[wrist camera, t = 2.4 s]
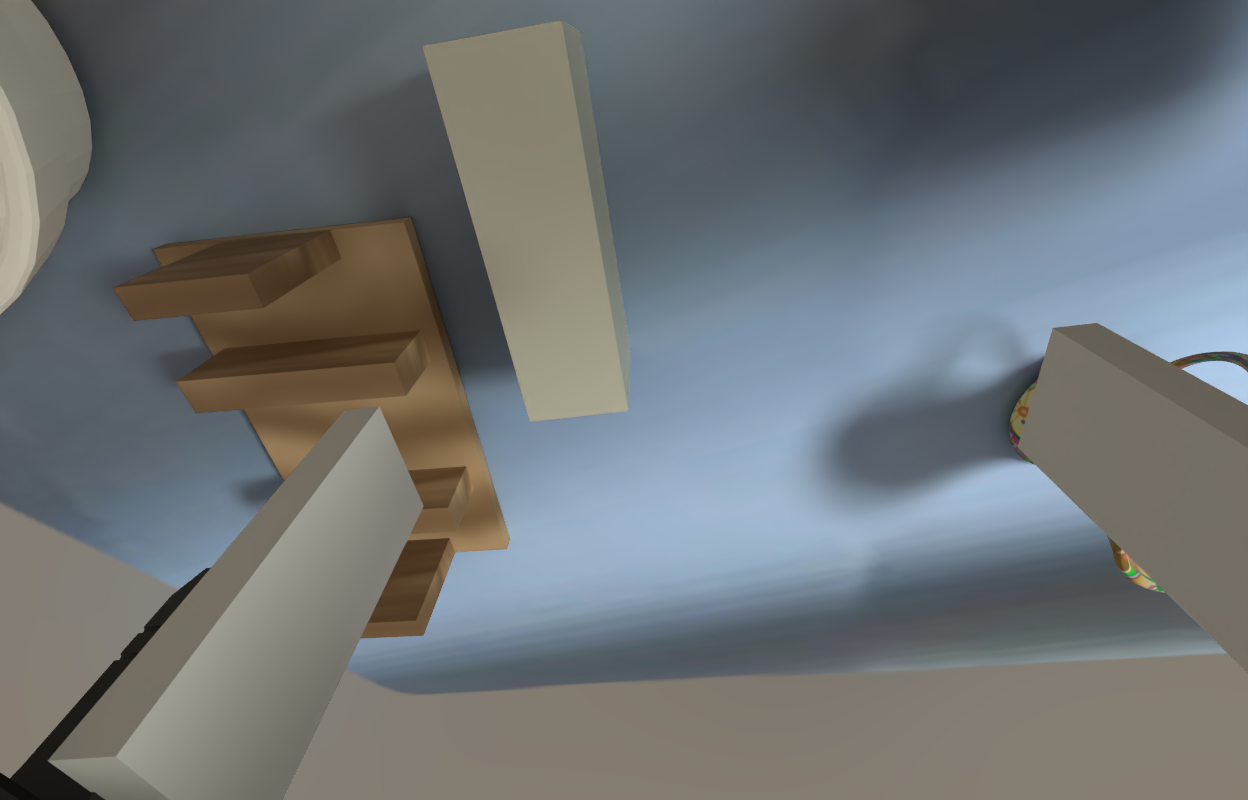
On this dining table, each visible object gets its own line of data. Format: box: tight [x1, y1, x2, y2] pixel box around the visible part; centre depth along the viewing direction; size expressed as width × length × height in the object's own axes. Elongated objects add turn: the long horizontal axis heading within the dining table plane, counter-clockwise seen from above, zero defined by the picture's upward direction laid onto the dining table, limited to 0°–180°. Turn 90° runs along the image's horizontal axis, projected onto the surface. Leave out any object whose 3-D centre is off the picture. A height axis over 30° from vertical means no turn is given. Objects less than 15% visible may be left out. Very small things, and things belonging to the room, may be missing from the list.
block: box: [422, 20, 630, 422], centre depth 26 cm, size 16×5×7 cm, turn 8°
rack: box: [113, 217, 510, 638], centre depth 32 cm, size 24×14×8 cm, turn 6°
